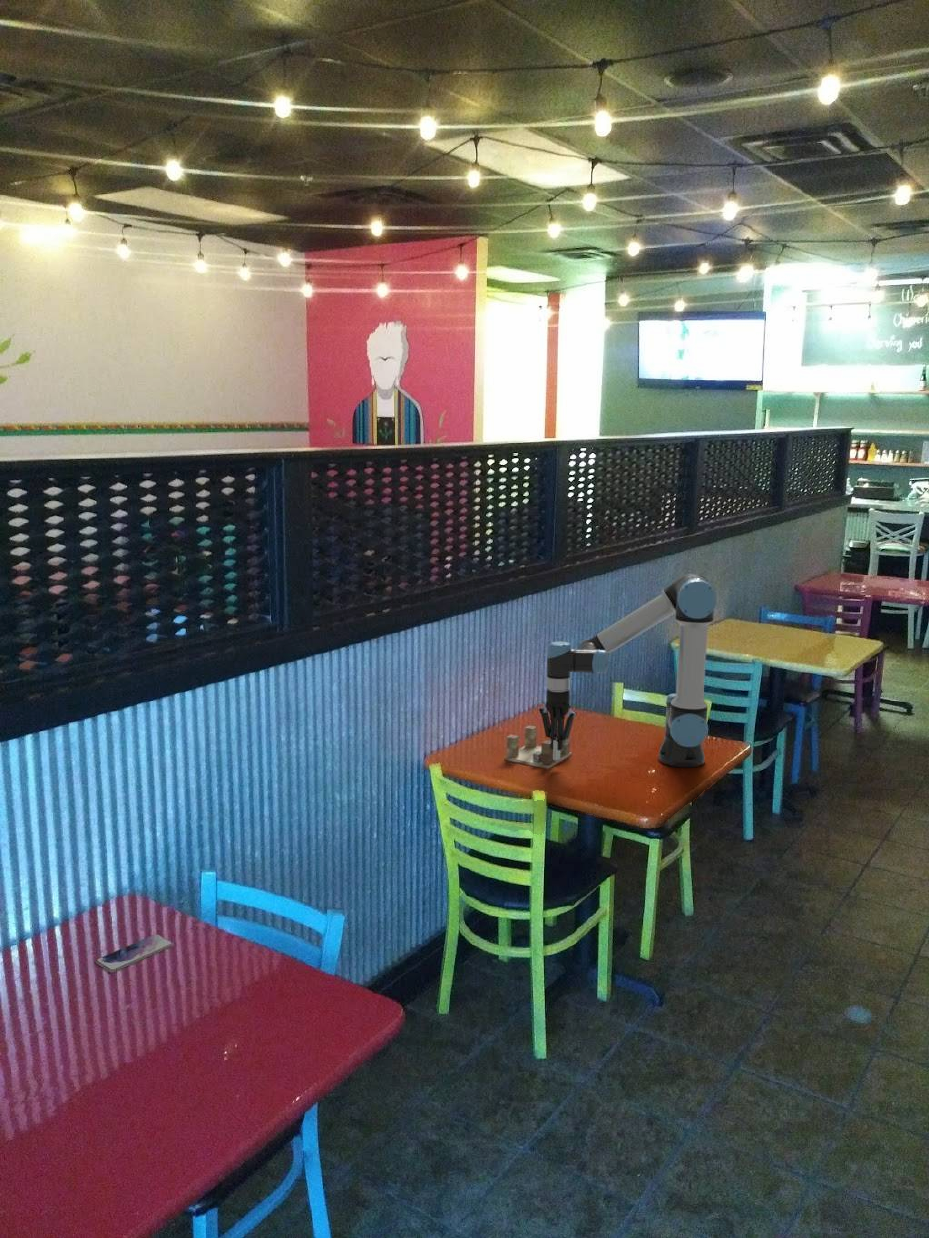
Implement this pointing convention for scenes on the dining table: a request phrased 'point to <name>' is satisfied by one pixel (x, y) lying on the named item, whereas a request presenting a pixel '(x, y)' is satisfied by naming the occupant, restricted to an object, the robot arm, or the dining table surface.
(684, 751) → the robot arm
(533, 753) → the stool seat
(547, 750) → the hinged leg
